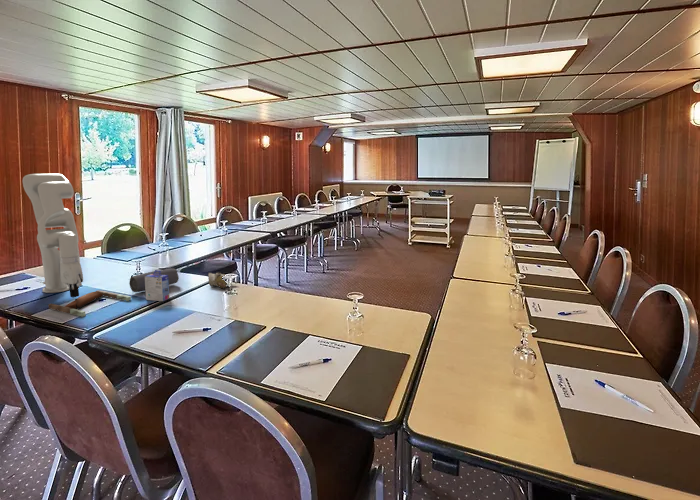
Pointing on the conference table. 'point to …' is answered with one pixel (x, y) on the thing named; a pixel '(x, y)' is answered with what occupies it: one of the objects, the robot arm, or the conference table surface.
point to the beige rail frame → (82, 313)
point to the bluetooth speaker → (139, 280)
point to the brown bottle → (84, 300)
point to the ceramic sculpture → (217, 280)
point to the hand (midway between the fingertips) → (74, 296)
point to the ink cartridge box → (157, 287)
